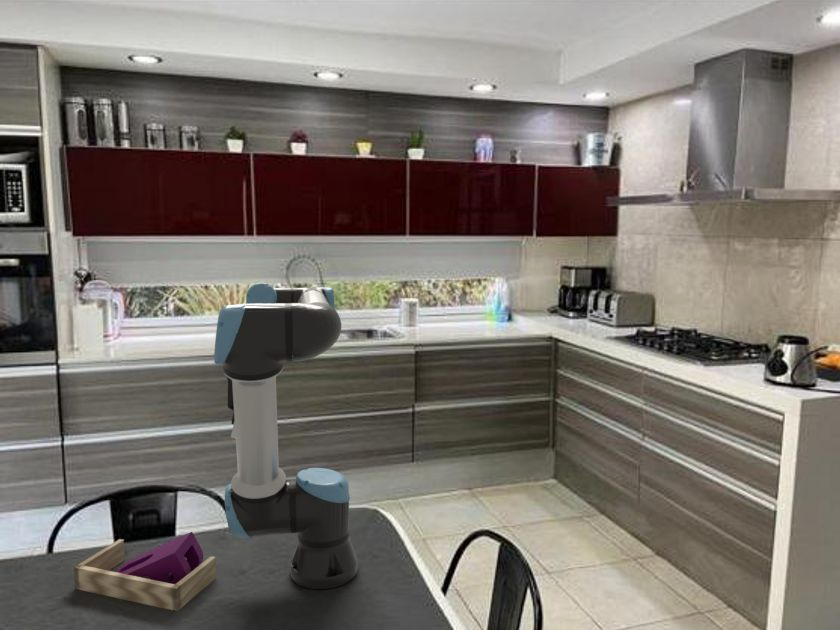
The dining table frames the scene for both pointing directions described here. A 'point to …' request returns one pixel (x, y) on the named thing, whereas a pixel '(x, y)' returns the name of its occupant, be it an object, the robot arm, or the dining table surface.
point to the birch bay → (139, 580)
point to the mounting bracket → (167, 560)
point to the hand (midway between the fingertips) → (236, 438)
